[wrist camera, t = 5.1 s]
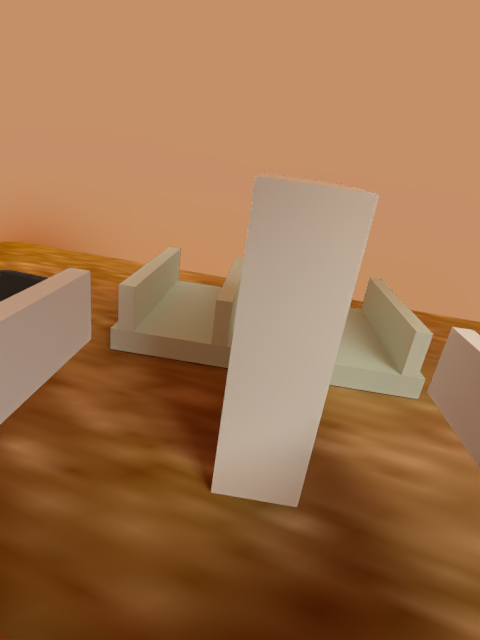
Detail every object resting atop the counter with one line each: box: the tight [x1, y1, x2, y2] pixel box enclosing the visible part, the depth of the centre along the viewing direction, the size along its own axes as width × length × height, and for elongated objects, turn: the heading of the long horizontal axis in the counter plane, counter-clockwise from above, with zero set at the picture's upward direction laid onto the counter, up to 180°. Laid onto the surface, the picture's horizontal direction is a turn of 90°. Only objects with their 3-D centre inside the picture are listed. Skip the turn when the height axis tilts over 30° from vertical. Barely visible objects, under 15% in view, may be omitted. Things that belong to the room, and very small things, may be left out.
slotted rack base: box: [110, 247, 433, 399], centre depth 29 cm, size 20×12×4 cm, turn 85°
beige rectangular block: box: [211, 173, 379, 507], centre depth 17 cm, size 4×8×12 cm, turn 175°
